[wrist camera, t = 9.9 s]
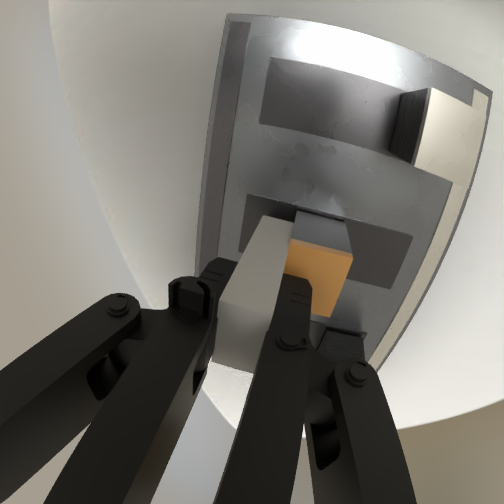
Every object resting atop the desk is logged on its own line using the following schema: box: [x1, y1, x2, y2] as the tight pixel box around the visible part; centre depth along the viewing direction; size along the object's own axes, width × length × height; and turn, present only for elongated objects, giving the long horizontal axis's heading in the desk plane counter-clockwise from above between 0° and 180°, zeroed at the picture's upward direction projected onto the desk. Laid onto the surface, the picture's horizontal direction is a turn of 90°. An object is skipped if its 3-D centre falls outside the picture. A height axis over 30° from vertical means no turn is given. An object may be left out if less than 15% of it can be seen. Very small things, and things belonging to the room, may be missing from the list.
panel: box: [194, 14, 493, 373], centre depth 14 cm, size 22×14×6 cm, turn 171°
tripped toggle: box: [283, 211, 353, 317], centre depth 13 cm, size 3×2×4 cm
